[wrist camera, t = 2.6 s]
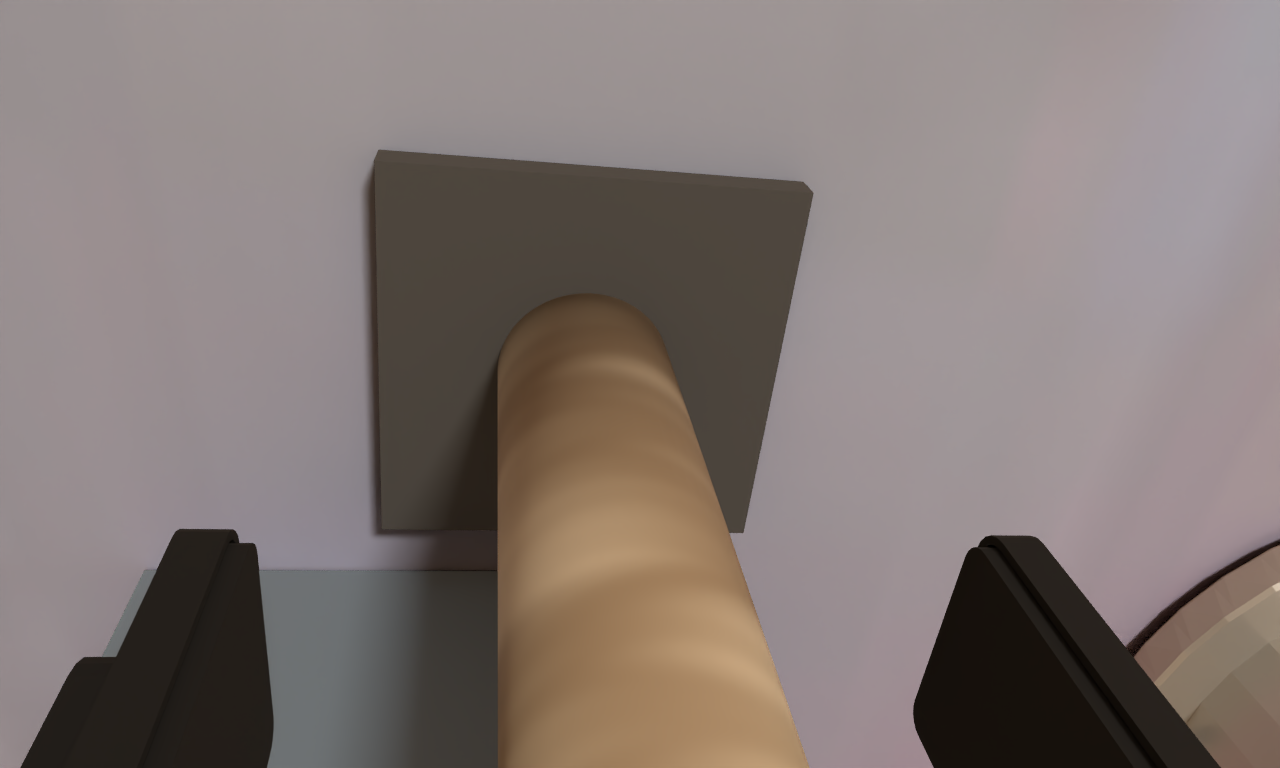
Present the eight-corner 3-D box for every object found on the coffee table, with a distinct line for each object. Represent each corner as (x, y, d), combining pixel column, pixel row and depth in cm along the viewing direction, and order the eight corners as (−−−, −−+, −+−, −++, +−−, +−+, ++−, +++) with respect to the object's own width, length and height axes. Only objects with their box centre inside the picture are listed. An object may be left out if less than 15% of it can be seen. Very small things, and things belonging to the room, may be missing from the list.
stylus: (678, 298, 16) (1219, 1620, 4) (657, 445, 18) (1011, 1756, 5) (501, 288, 16) (514, 1768, 4) (493, 441, 17) (485, 1874, 5)
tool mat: (803, 181, 16) (813, 192, 16) (736, 514, 19) (743, 532, 19) (378, 149, 15) (374, 160, 14) (384, 510, 18) (381, 528, 18)
